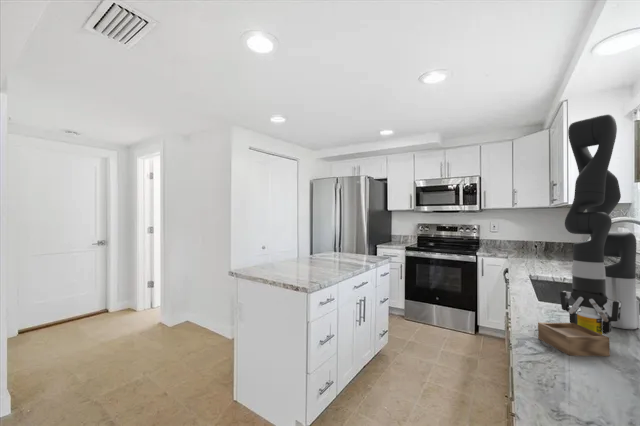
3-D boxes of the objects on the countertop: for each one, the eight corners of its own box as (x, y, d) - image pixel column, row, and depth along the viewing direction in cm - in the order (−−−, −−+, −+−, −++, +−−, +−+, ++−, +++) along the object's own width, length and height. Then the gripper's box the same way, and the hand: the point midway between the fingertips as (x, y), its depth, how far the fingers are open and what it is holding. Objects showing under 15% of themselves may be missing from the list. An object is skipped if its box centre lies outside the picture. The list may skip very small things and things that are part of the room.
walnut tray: (573, 338, 87) (573, 322, 87) (609, 356, 76) (609, 337, 76) (538, 338, 87) (538, 322, 87) (569, 355, 76) (568, 337, 76)
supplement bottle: (599, 345, 83) (599, 310, 83) (575, 338, 87) (574, 305, 87) (604, 341, 86) (604, 307, 86) (580, 334, 90) (580, 303, 91)
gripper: (625, 278, 82) (627, 335, 82) (564, 271, 95) (565, 320, 95) (616, 281, 79) (618, 340, 78) (554, 272, 91) (555, 323, 91)
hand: (589, 329), depth 86 cm, fingers open, 6 cm apart
